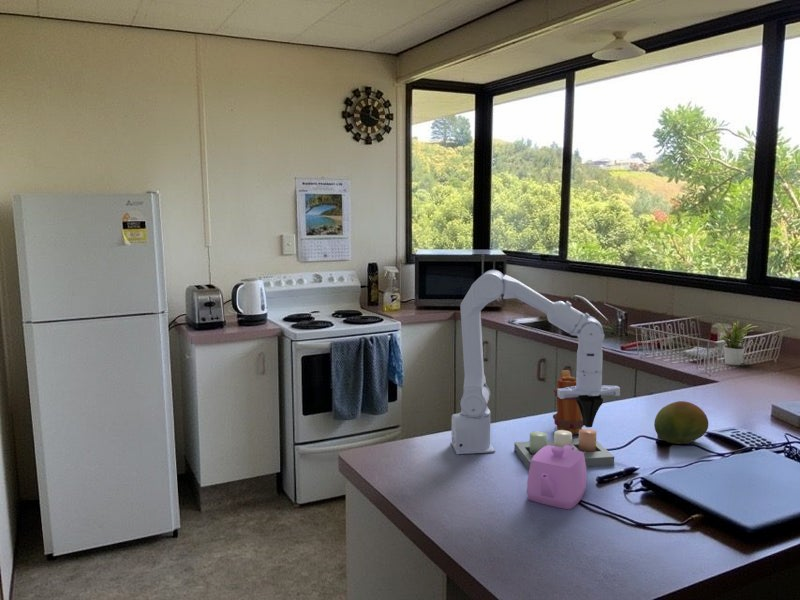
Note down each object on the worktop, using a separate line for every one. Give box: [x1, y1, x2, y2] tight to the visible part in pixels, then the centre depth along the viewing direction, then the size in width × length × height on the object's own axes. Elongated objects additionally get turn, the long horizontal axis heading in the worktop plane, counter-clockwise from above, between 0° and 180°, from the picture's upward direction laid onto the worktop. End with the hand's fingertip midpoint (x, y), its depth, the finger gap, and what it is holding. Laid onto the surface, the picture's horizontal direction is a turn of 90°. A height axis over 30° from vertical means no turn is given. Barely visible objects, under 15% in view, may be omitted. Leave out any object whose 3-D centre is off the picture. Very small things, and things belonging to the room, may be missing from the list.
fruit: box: [653, 400, 709, 445], centre depth 159 cm, size 12×13×10 cm
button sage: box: [529, 431, 548, 455], centre depth 151 cm, size 4×4×4 cm
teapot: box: [526, 445, 588, 510], centre depth 131 cm, size 18×10×10 cm, turn 148°
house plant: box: [717, 319, 759, 366], centre depth 233 cm, size 14×14×16 cm
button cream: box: [553, 430, 573, 448], centre depth 151 cm, size 4×4×4 cm
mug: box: [552, 369, 585, 435], centre depth 170 cm, size 15×8×15 cm, turn 173°
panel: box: [513, 438, 615, 470], centre depth 152 cm, size 20×12×2 cm, turn 96°
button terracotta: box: [578, 428, 598, 452], centre depth 152 cm, size 4×4×4 cm
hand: (587, 425), depth 151 cm, fingers closed
